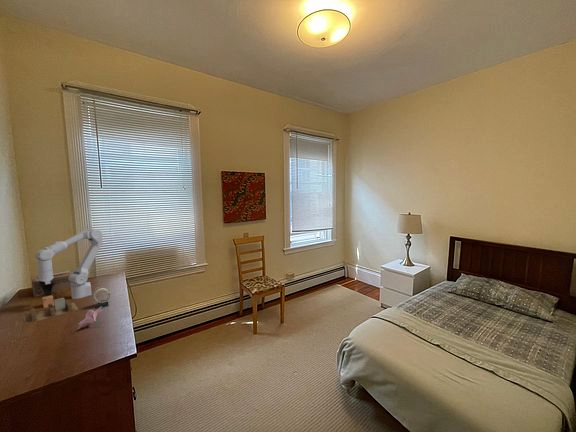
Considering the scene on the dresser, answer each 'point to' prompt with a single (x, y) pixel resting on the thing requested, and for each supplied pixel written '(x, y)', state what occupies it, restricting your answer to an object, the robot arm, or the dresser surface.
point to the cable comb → (48, 312)
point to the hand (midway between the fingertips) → (47, 293)
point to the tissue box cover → (59, 282)
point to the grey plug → (59, 304)
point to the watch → (104, 302)
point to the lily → (90, 317)
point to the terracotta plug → (48, 301)
